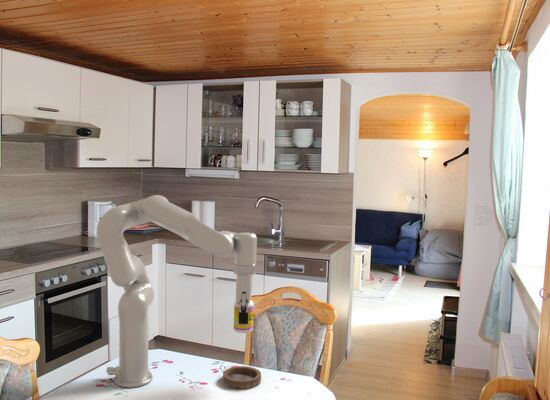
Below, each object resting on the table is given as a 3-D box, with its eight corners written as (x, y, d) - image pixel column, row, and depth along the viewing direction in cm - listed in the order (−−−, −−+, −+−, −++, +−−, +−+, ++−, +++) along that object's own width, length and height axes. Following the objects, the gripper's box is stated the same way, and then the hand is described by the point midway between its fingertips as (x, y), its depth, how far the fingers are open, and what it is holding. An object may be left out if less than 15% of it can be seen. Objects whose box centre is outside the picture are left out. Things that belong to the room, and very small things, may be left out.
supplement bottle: (250, 334, 167) (251, 296, 166) (231, 332, 168) (232, 295, 168) (254, 328, 174) (256, 292, 173) (236, 326, 175) (237, 290, 174)
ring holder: (221, 389, 165) (222, 381, 165) (224, 373, 178) (224, 365, 178) (260, 389, 166) (261, 381, 166) (260, 373, 179) (260, 366, 179)
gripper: (235, 263, 178) (233, 312, 179) (232, 274, 161) (231, 328, 162) (256, 264, 179) (254, 313, 180) (256, 274, 161) (254, 328, 162)
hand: (243, 319), depth 171 cm, fingers closed on supplement bottle, 6 cm apart
